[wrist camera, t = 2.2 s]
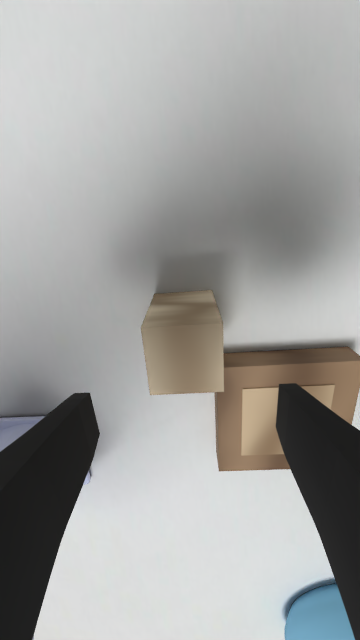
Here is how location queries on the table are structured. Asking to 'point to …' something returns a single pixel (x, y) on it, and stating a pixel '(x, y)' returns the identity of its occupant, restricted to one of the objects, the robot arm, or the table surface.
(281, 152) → the table surface
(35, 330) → the table surface
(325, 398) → the walnut plinth
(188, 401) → the table surface
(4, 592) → the robot arm
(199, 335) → the oak block
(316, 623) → the sugar bowl
